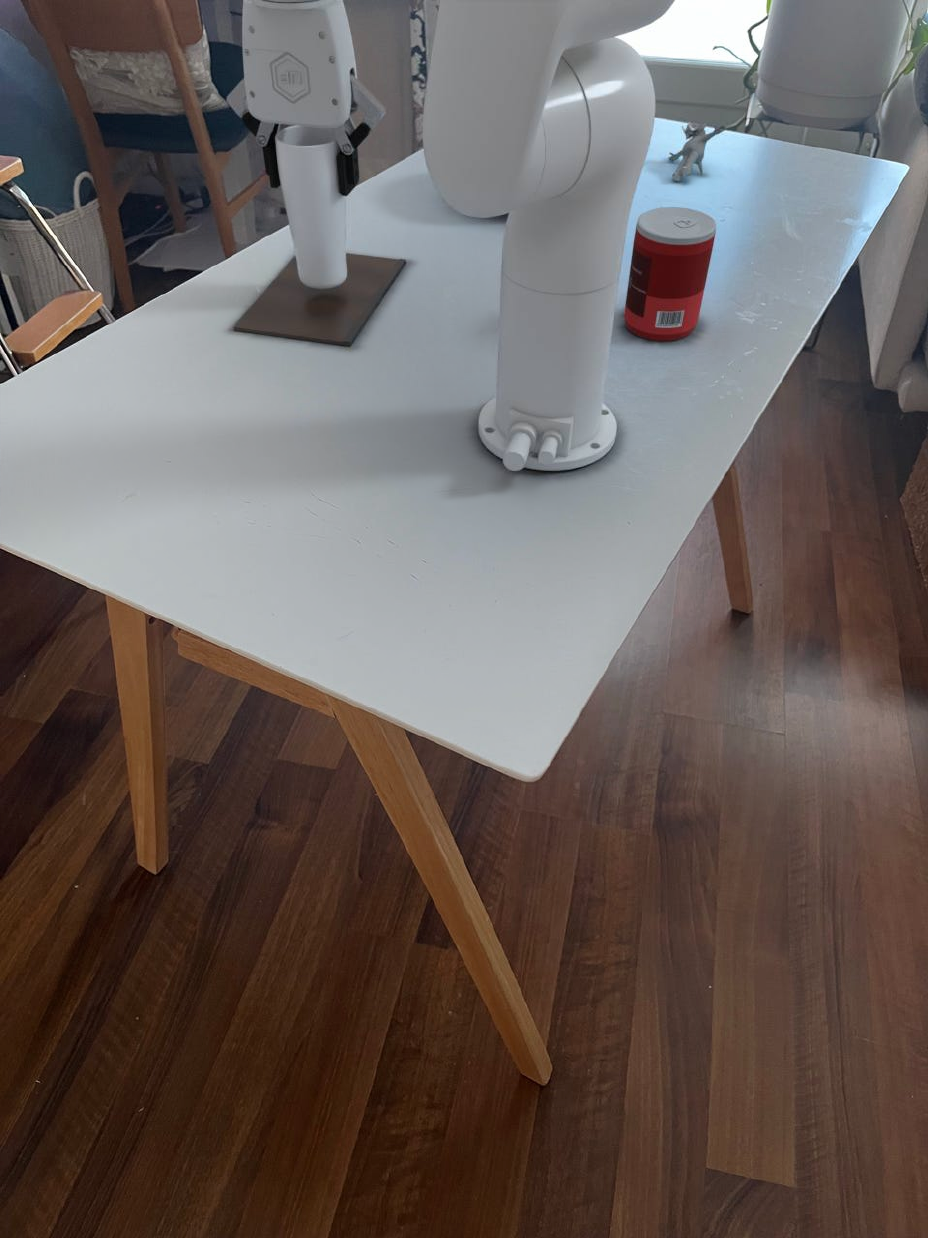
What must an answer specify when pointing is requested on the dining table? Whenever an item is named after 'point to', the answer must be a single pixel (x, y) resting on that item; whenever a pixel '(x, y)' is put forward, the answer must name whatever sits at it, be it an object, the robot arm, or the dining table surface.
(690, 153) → the grey creature figurine
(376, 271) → the desk mat
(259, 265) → the dining table surface
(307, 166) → the drinking glass
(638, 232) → the canned food
